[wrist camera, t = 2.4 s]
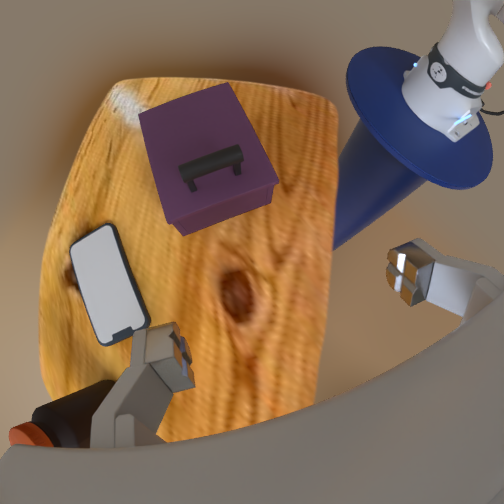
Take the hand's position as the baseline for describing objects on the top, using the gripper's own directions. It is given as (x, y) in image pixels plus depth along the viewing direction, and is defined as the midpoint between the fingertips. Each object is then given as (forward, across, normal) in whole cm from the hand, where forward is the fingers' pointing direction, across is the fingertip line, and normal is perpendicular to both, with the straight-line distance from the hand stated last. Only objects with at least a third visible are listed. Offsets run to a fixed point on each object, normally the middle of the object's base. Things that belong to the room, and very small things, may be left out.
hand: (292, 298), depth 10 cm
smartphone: (+26, +19, +12) cm, 34 cm away
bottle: (+15, +24, +24) cm, 37 cm away
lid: (+27, +1, -2) cm, 27 cm away
